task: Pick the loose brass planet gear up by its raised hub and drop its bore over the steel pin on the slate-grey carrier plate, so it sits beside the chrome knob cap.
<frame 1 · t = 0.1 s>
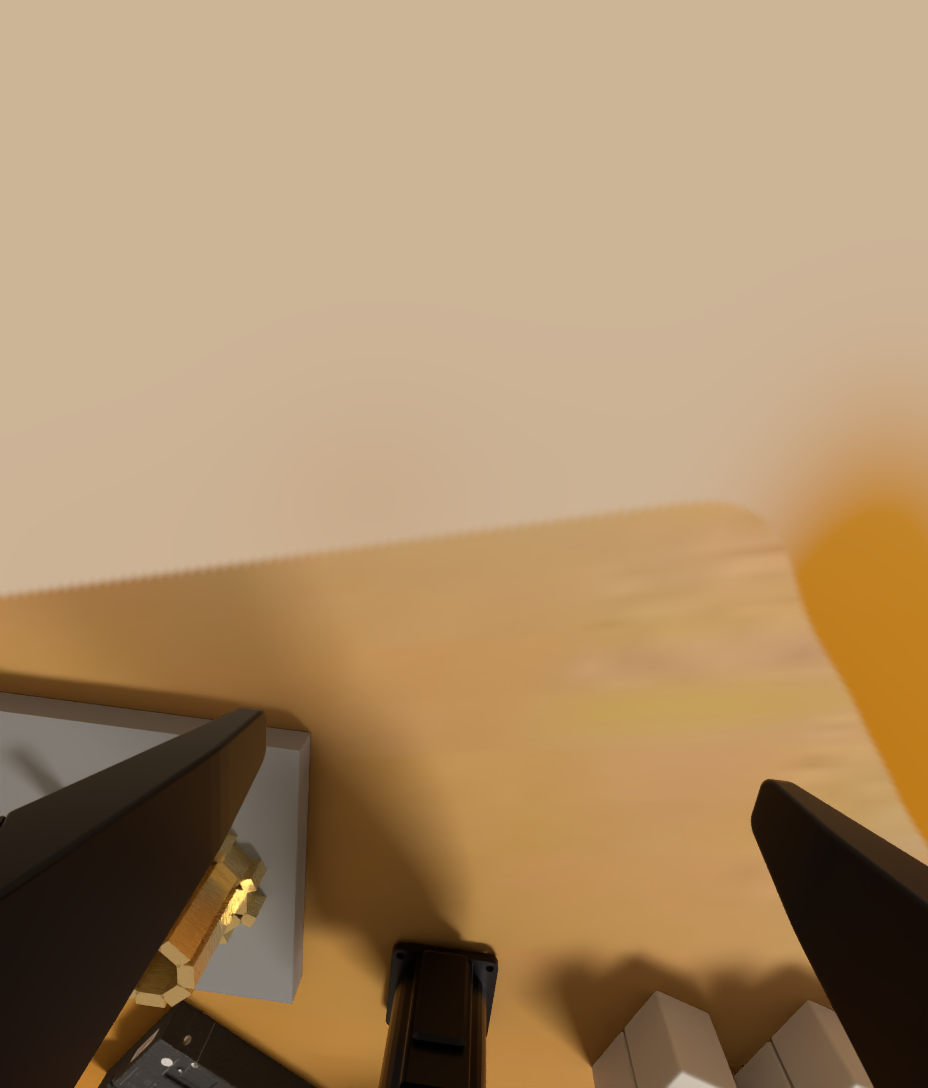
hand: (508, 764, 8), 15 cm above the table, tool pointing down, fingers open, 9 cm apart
carrier plate: (143, 840, 27), on the table
planet gear: (209, 875, 26), point 1 cm above the table, touching carrier plate
disk drive: (233, 1078, 33), on the table
puzzle cube: (718, 1038, 29), on the table
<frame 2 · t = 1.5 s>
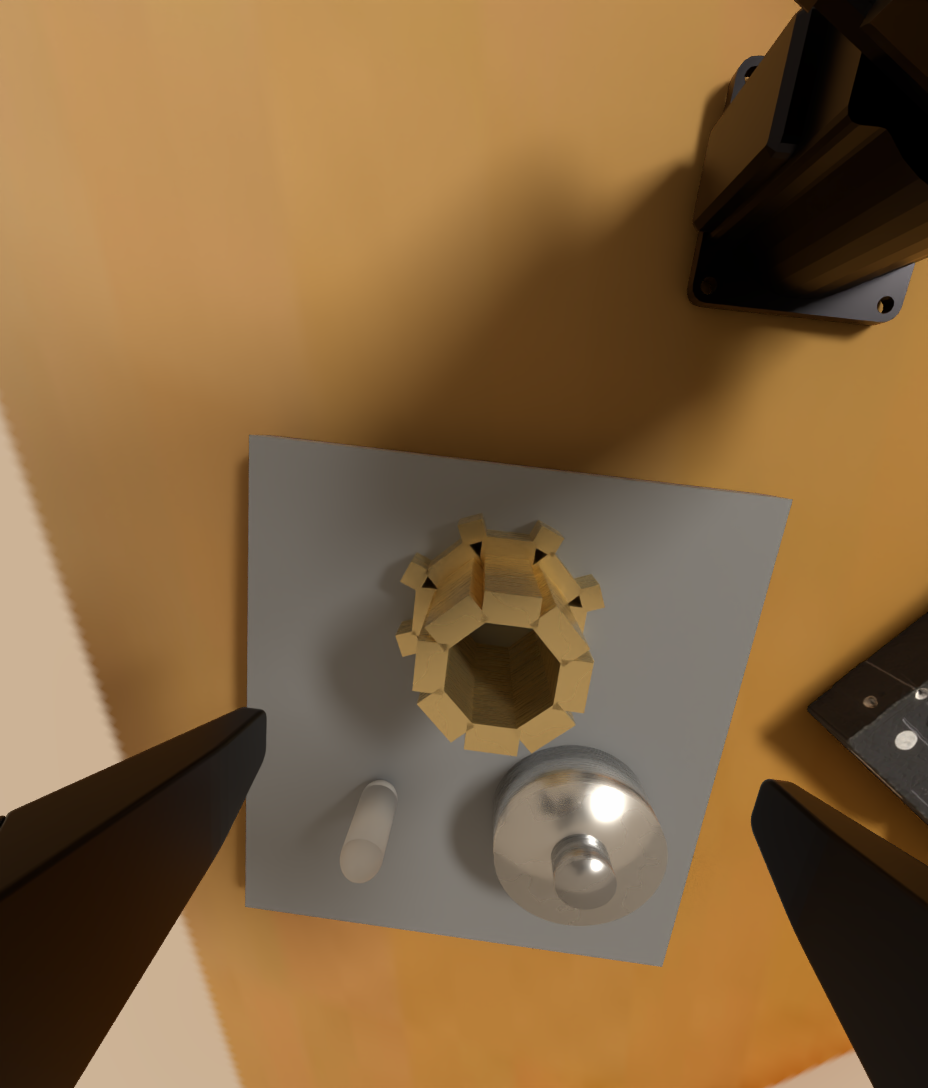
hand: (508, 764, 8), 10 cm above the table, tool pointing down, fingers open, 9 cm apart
carrier plate: (480, 709, 19), on the table
planet gear: (497, 608, 16), point 1 cm above the table, touching carrier plate
chrome knob cap: (569, 812, 18), resting on carrier plate
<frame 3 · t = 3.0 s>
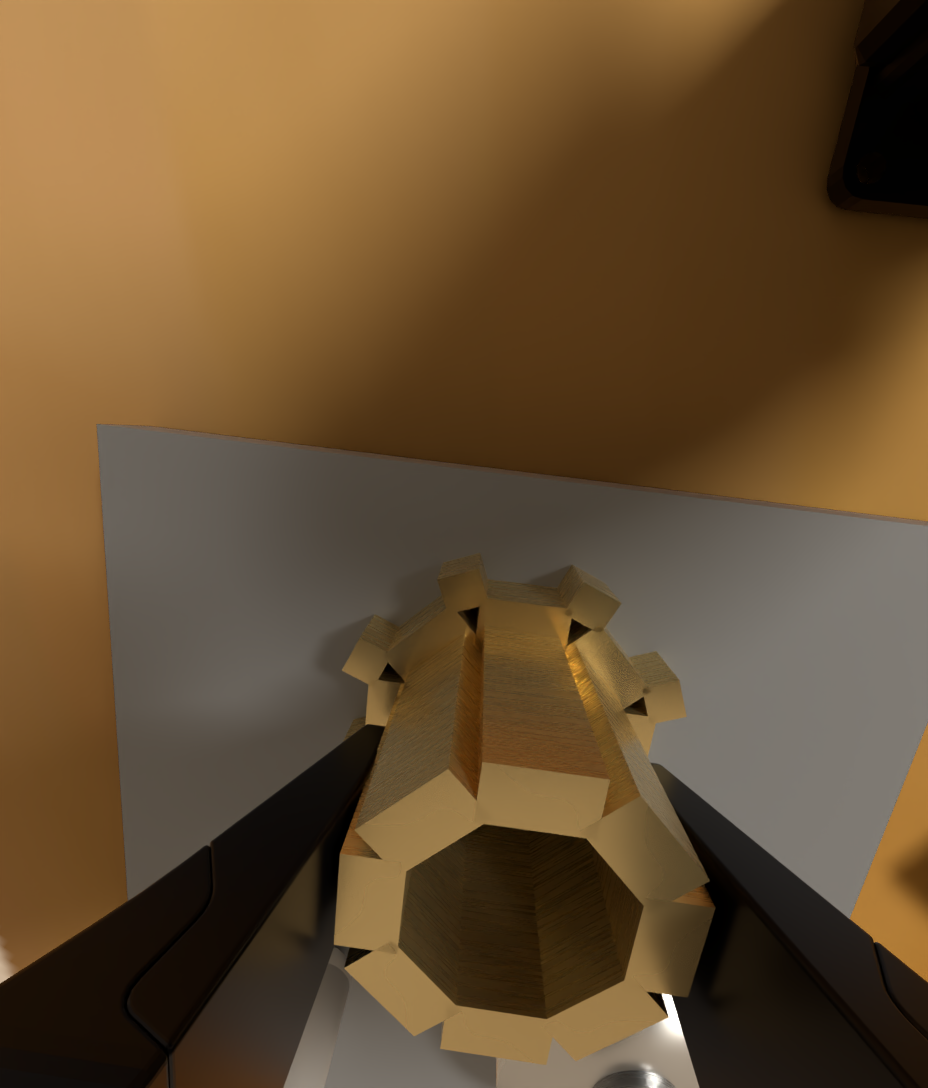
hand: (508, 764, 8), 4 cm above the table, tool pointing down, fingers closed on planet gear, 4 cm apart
carrier plate: (477, 830, 13), on the table
planet gear: (503, 702, 10), point 1 cm above the table, touching carrier plate, gripper
chrome knob cap: (610, 994, 12), resting on carrier plate
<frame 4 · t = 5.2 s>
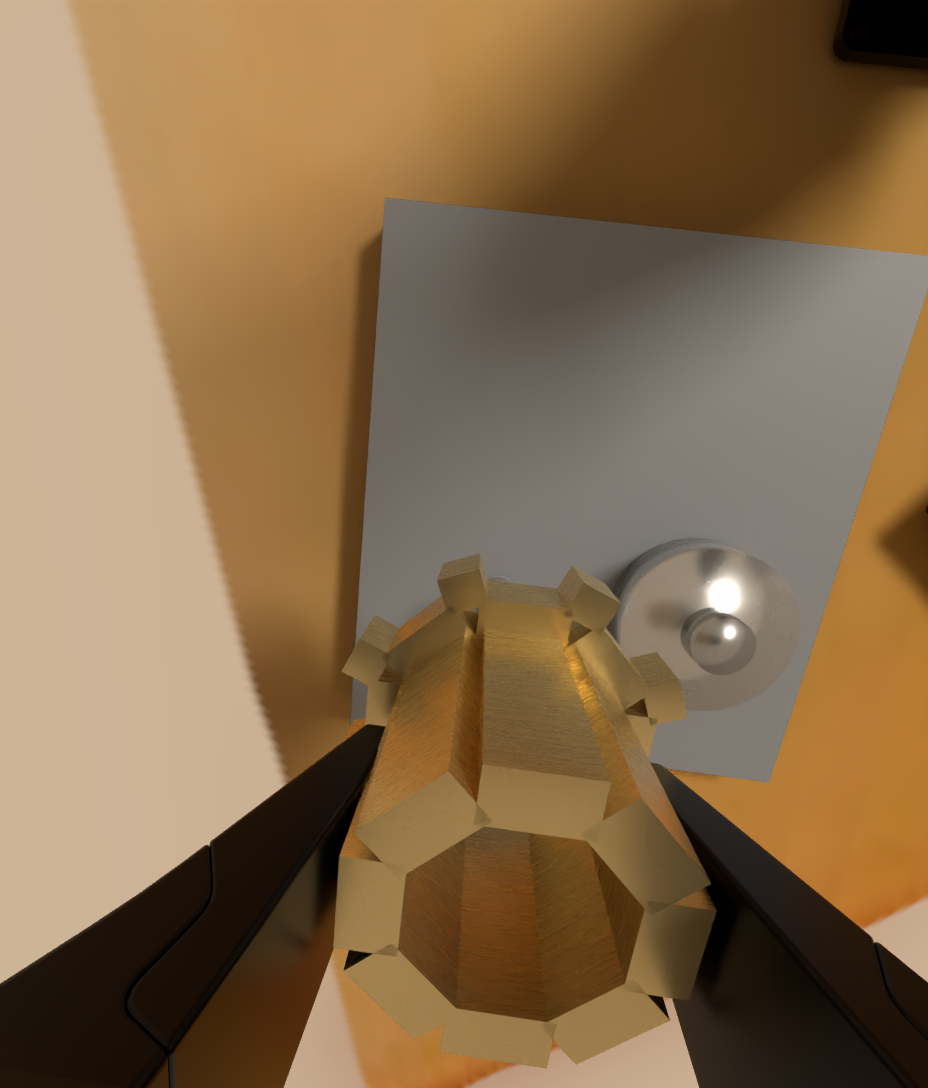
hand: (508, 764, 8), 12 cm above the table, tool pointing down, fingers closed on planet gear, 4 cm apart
carrier plate: (591, 518, 19), on the table
planet gear: (503, 703, 10), point 10 cm above the table, touching gripper
chrome knob cap: (685, 612, 18), resting on carrier plate
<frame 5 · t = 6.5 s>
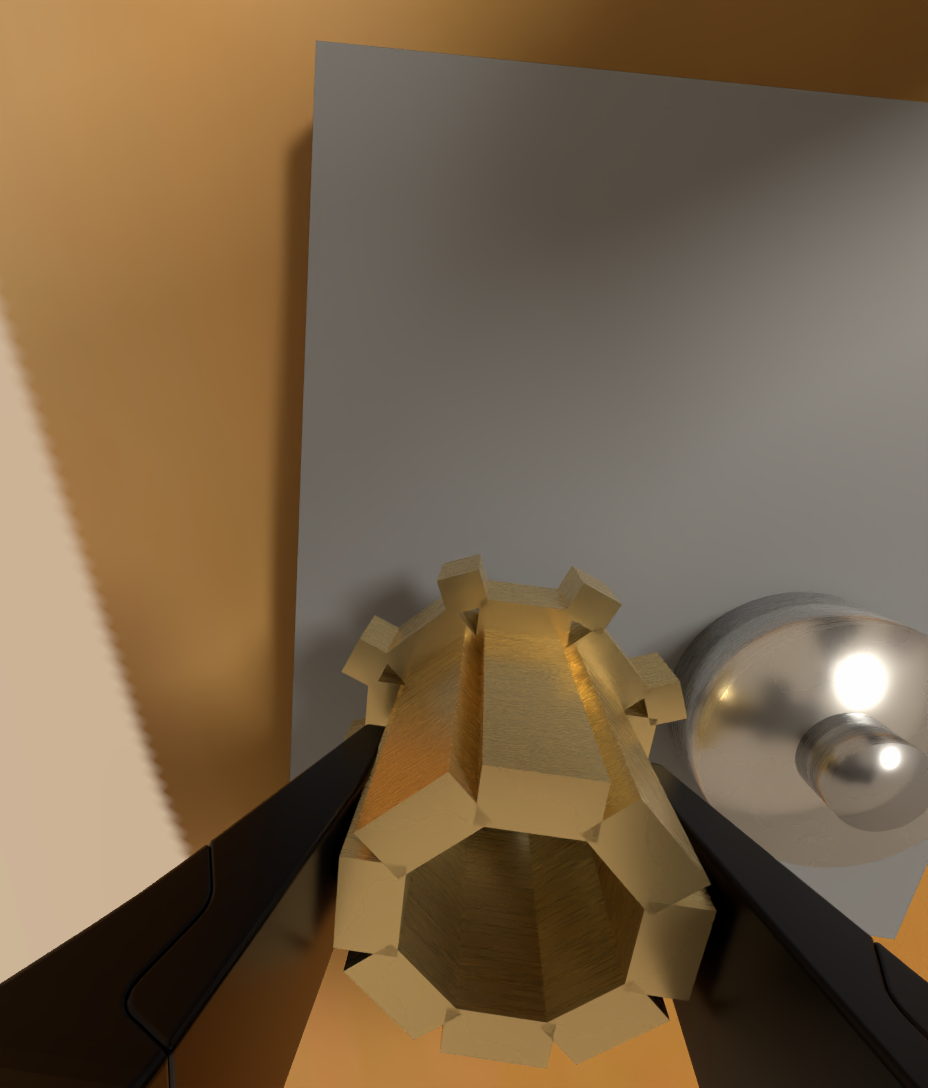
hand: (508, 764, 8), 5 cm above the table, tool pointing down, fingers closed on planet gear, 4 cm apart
carrier plate: (638, 557, 13), on the table
planet gear: (503, 703, 10), point 3 cm above the table, touching gripper
chrome knob cap: (784, 702, 12), resting on carrier plate
when the fingers open (5 cm above the table, at t = 7.4 s): planet gear drops 1 cm, resting on carrier plate.
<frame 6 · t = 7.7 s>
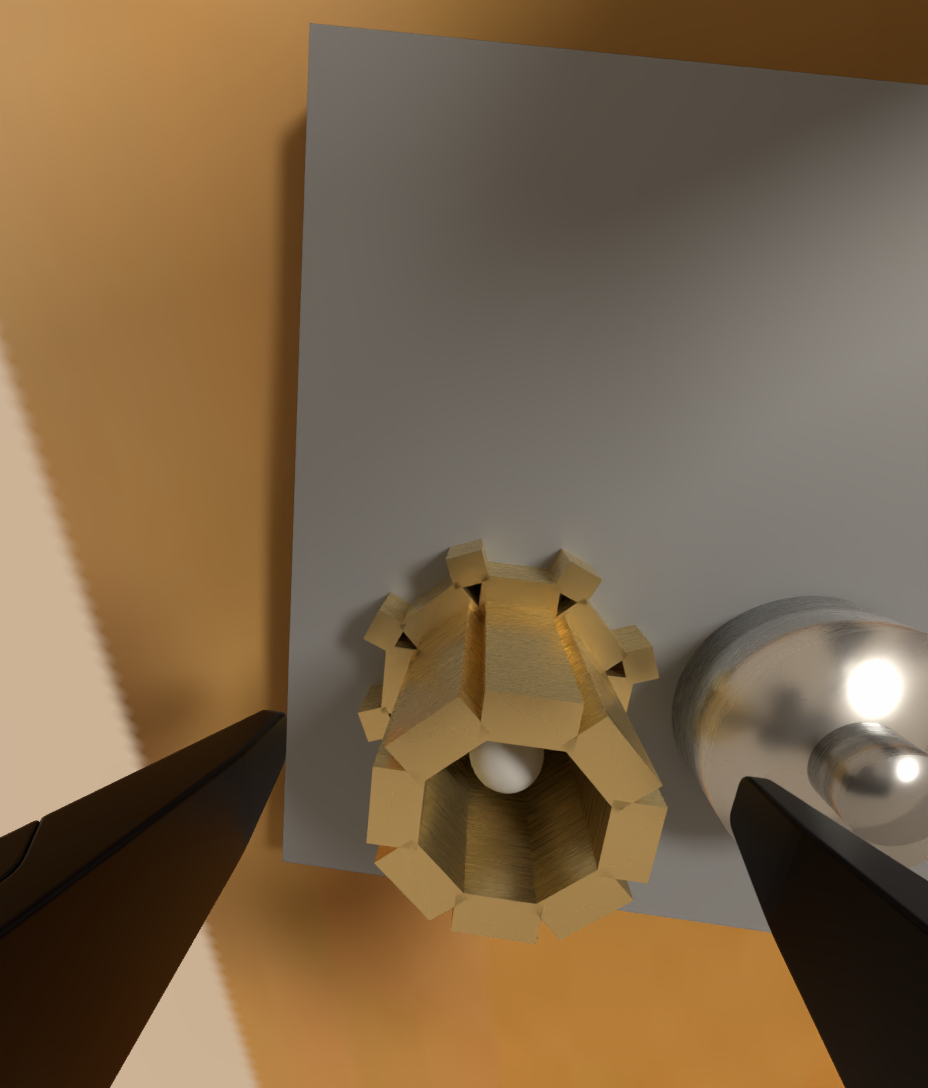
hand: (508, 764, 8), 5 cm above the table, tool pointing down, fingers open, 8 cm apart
carrier plate: (643, 559, 12), on the table
planet gear: (502, 670, 12), point 1 cm above the table, touching carrier plate
chrome knob cap: (794, 709, 11), resting on carrier plate
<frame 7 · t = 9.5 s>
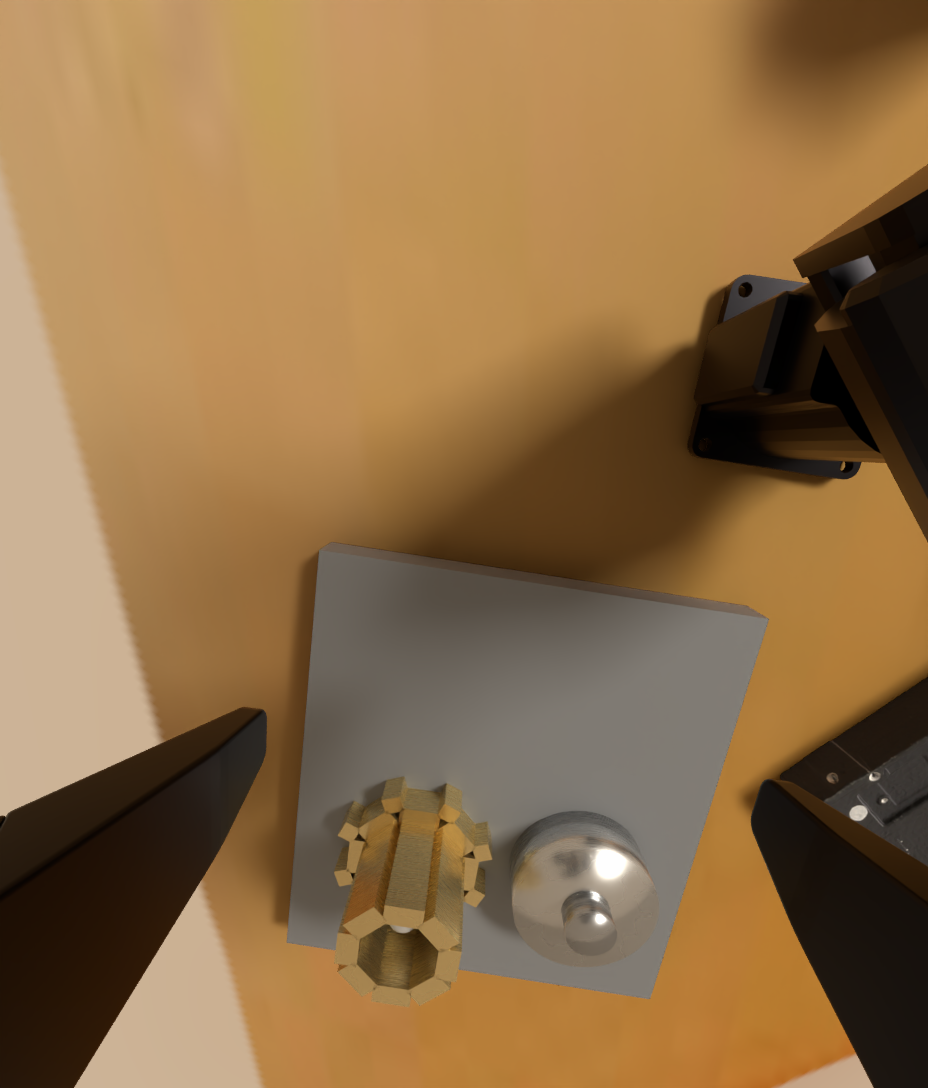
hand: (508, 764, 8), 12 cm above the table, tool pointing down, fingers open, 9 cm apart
carrier plate: (500, 774, 22), on the table
planet gear: (416, 842, 21), point 1 cm above the table, touching carrier plate
chrome knob cap: (575, 866, 21), resting on carrier plate
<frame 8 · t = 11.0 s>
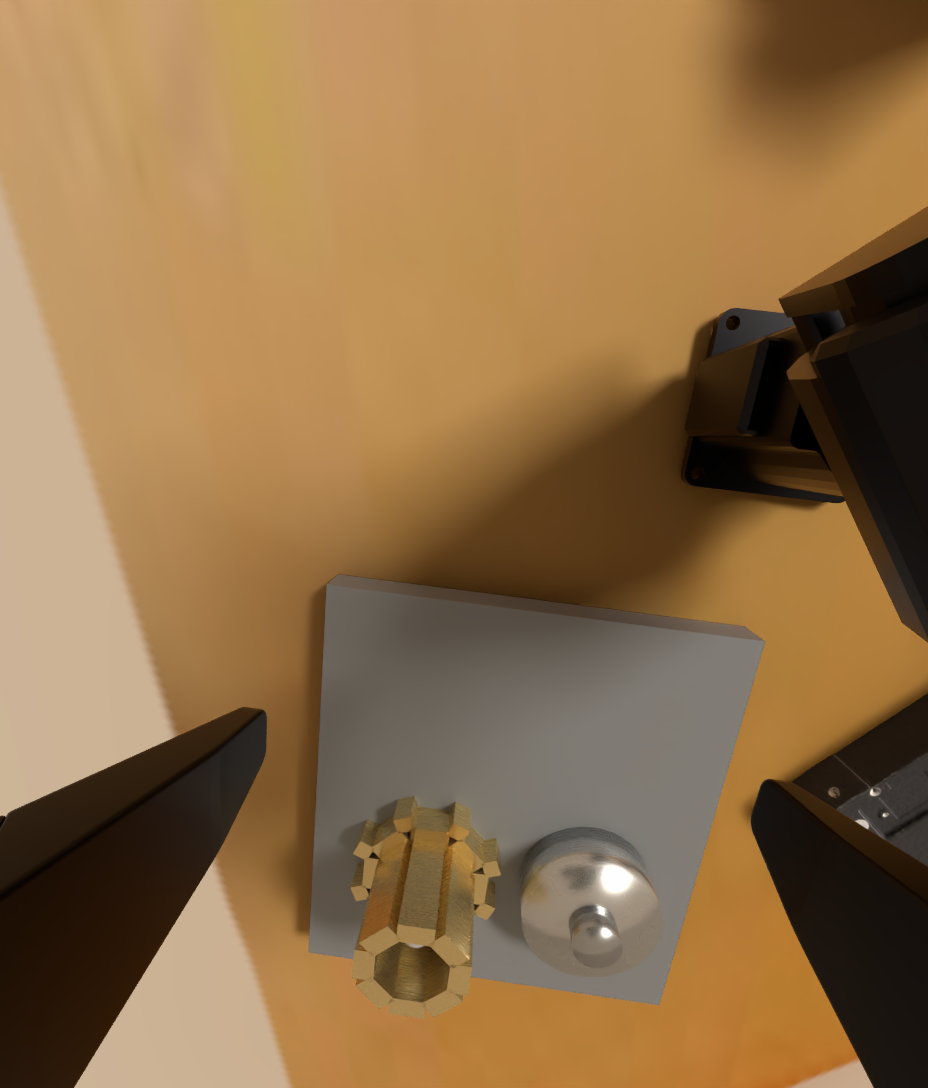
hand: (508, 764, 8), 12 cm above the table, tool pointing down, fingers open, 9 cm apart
carrier plate: (507, 791, 22), on the table
planet gear: (428, 857, 22), point 1 cm above the table, touching carrier plate
chrome knob cap: (582, 879, 21), resting on carrier plate
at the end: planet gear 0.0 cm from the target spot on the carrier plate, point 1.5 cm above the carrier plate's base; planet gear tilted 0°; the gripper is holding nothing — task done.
